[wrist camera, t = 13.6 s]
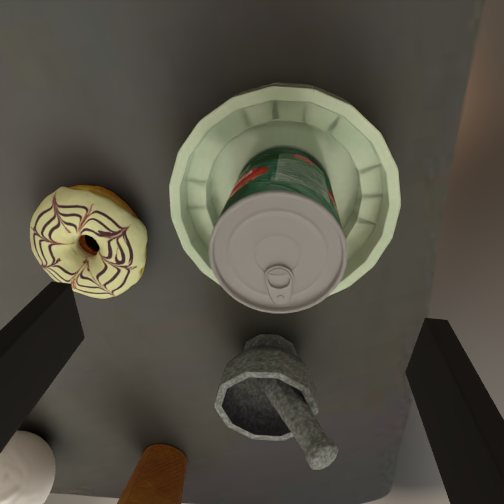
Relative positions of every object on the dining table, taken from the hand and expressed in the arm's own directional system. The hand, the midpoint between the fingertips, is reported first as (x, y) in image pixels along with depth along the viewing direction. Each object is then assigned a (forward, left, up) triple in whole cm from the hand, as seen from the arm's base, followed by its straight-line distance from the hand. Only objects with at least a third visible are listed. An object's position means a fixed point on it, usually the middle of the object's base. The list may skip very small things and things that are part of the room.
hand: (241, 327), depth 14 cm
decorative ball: (+42, -32, -19) cm, 56 cm away
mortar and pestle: (+20, +2, -19) cm, 28 cm away
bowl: (+1, +1, -19) cm, 19 cm away
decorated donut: (+7, -16, -19) cm, 26 cm away
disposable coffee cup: (+42, -12, -19) cm, 48 cm away
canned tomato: (+1, +1, -18) cm, 18 cm away
